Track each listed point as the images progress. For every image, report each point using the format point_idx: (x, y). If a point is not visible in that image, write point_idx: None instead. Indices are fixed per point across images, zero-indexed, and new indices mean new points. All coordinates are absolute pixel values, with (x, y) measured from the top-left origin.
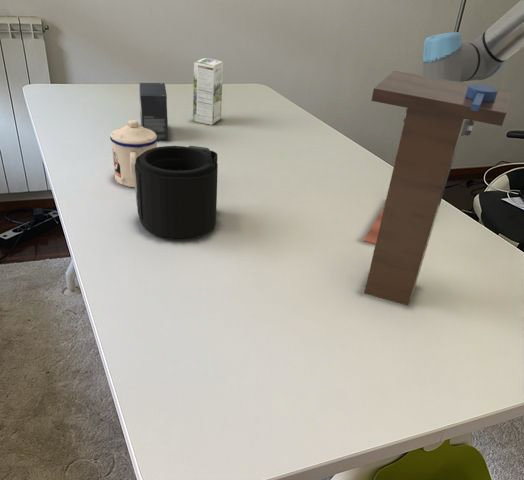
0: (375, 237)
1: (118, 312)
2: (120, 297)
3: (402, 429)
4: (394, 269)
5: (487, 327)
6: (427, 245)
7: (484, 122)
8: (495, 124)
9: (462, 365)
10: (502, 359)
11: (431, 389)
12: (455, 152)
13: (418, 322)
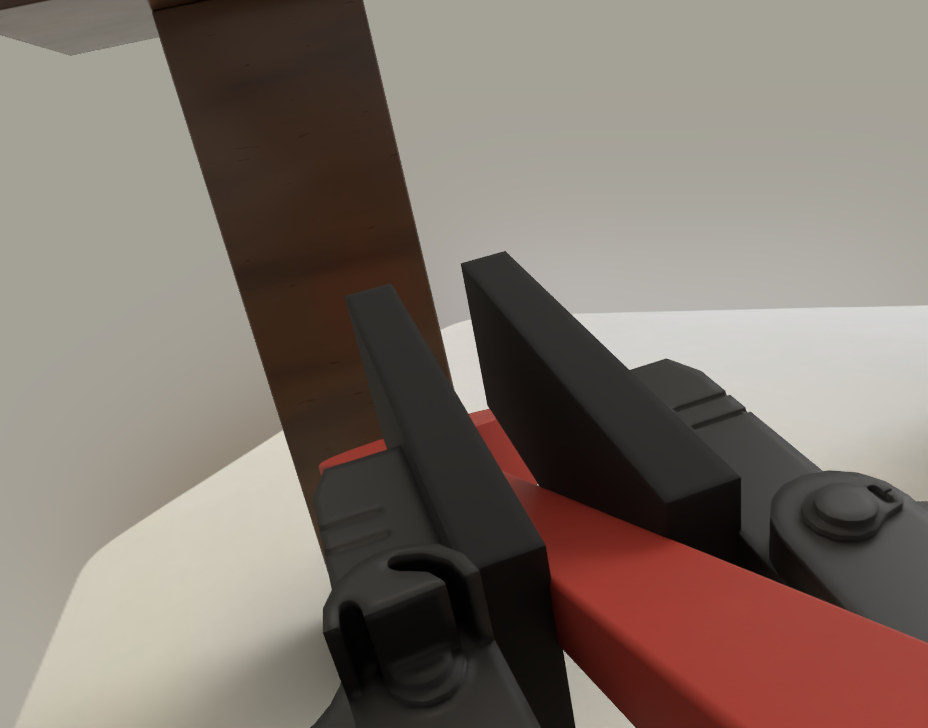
0: None
1: (766, 321)
2: (809, 325)
3: (279, 438)
4: None
5: (117, 680)
6: (314, 528)
7: (119, 44)
8: (87, 50)
9: (193, 553)
10: (97, 614)
11: (249, 491)
12: (208, 188)
13: (308, 580)
